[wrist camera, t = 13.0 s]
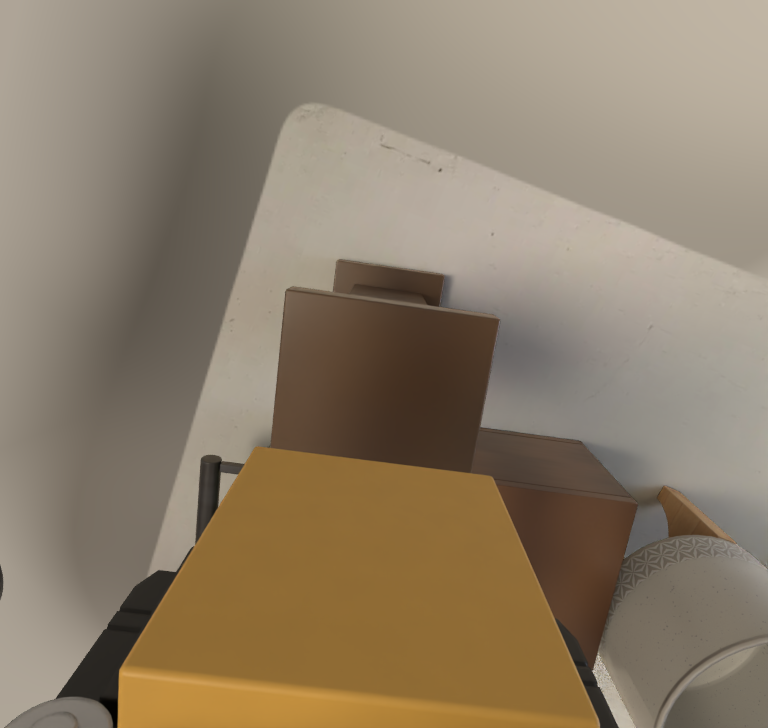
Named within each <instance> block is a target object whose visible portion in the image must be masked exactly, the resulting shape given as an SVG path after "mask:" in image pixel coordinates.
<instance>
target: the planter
mask: <svg viewBox="0 0 768 728" xmlns="http://www.w3.org/2000/svg"><path fill="white" fill-rule="evenodd" d="M657 499H658V500H659V501H660V503H661V504H662V506H663V508H664V511H665V513H666V517H667V521H668V531H669V538H666V539H663V540H660V541H656V542H654V543H651V544H649V545H647V546H645V547H642V548H641V549H639V550H637V551H636V552H634V553H632V554H631V555H629V556H628V557H627V558H626V559H623V561H622V565H621V569H620V572H619V576H618V579H617V583H616V587H615V590H614V594H613V598H612V601H611V605H610V609H609V612H608V616H607V620H606V623H605V627H604V631H603V634H602V638H601V642H600V645H599V649H598V653H599V655H600V657H601V659H602V661H603V663H604V665H605V667H606V669H607V671H608V673H609V675H610V677H611V679H612V681H613V683H614V685H615V687H616V689H617V691H618V693H619V695H620V697H621V699H622V701H623V703H624V705H625V707H626V709H627V711H628V713H629V715H630V717H631V719H632V721H633V723H634V725H635V727H636V728H768V569H767V568H766V567H765V566H764V565H763V564H761V563H760V562H759V561H758V560H757V559H756V558H755V557H753V556H752V555H751V554H750V553H749V552H748V551H746V550H744V549H743V548H741V547H740V546H738V545H737V543H736V542H735V541H734V540H733V539H731V538H730V537H729V536H728V535H727V534H726V533H725V532H724V531H723V530H721V529H720V528H719V527H718V526H717V525H716V524H715V523H714V522H713V521H711V520H710V519H709V518H708V517H707V516H706V515H705V514H704V513H703V512H701V511H700V510H699V509H698V508H697V507H696V506H695V505H694V504H693V503H691V502H690V501H689V500H688V499H687V498H686V497H685V496H684V495H682V494H681V493H680V492H679V491H676V490H674V489H672V488H669V487H667V486H664V487H663V488H662V490H661V492H660V493H659V495H658V497H657Z"/></svg>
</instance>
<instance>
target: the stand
mask: <svg viewBox="0 0 768 728" xmlns="http://www.w3.org/2000/svg"><path fill="white" fill-rule="evenodd" d="M444 280H445V276H444V275H443V274H438V273H431V272H424V271H417V270H410V269H403V268H396V267H389V266H382V265H375V264H368V263H361V262H354V261H347V260H340V259H339V260H337V262H336V270H335V279H334V287H333V292H330V291H322V290H315V289H308V288H301V287H294V286H292V287H290V288H288V289H287V290H286V291H285V302H284V312H283V322H282V332H281V343H280V353H279V363H278V374H277V384H276V394H275V404H274V415H273V425H272V435H271V446H270V448H274V449H282V450H290V451H298V452H306V453H314V454H322V455H329V456H337V457H345V458H353V459H361V460H369V461H377V462H385V463H393V464H400V465H408V466H416V467H424V468H432V469H440V470H448V471H456V472H464V473H471V472H472V467H473V461H474V456H475V451H476V446H477V441H478V435H479V430H480V425H481V420H482V415H483V409H484V404H485V399H486V394H487V389H488V383H489V378H490V373H491V368H492V363H493V357H494V352H495V347H496V342H497V337H498V331H499V326H500V319H499V318H497V317H496V316H495V315H493V314H486V313H479V312H471V311H464V310H457V309H450V308H443V307H440V304H441V298H442V292H443V286H444Z"/></svg>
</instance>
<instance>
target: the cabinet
mask: <svg viewBox="0 0 768 728" xmlns="http://www.w3.org/2000/svg"><path fill="white" fill-rule="evenodd" d="M471 473H472V474H479V475H487V476H491V477H493V479H494V481H495V484H496V486H497V488H498V490H499V493H500V495H501V497H502V500H503V502H504V504H505V506H506V509H507V511H508V513H509V516H510V518H511V520H512V522H513V525H514V527H515V529H516V532H517V534H518V536H519V538H520V541H521V543H522V545H523V548H524V550H525V552H526V554H527V557H528V559H529V561H530V564H531V566H532V568H533V570H534V573H535V575H536V577H537V580H538V582H539V584H540V586H541V589H542V591H543V593H544V596H545V598H546V600H547V602H548V605H549V607H550V609H551V612H552V614H553V616H554V618H557V619H558V620H559V621H560V622H561V623H562V624H563V625H564V626H565V627H566V628H567V629H568V630H569V632H570V633H571V634H572V635H573V636H574V637H575V638H576V639H577V640H578V642H579V645H580V647H581V649H582V651H583V653H584V655H585V657H586V659H587V662H588V667H590V668H591V670H593V667H594V664H595V660H596V656H597V653H598V649H599V645H600V642H601V638H602V634H603V631H604V627H605V623H606V620H607V616H608V612H609V609H610V605H611V601H612V598H613V594H614V590H615V587H616V583H617V579H618V576H619V572H620V569H621V565H622V561H623V558H624V554H625V550H626V547H627V543H628V539H629V536H630V532H631V528H632V525H633V521H634V517H635V514H636V510H637V506H638V503H637V502H636V501H635V500H634V499H633V498H632V497H631V496H630V495H629V493H628V492H627V491H626V490H625V489H624V488H623V487H622V486H621V485H620V484H619V483H618V481H617V480H616V479H615V478H614V477H613V476H612V475H611V474H610V473H609V472H608V471H607V469H606V468H605V467H604V466H603V465H602V464H601V463H600V462H599V461H598V460H597V459H596V457H595V456H594V455H593V454H592V453H591V452H590V451H589V450H588V449H587V448H586V447H585V445H584V444H583V443H582V442H581V441H575V440H568V439H561V438H553V437H546V436H538V435H531V434H524V433H516V432H509V431H502V430H494V429H487V428H480V430H479V435H478V441H477V446H476V451H475V456H474V461H473V467H472V472H471Z"/></svg>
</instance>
